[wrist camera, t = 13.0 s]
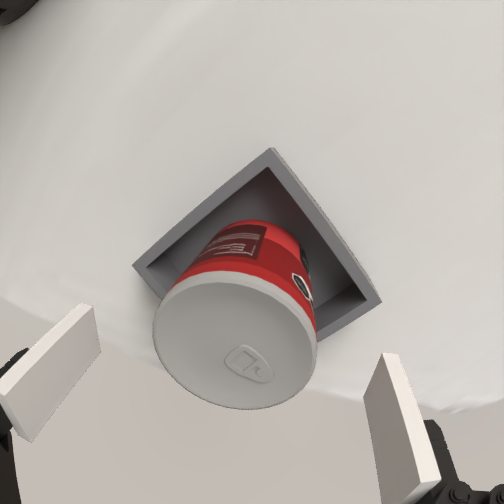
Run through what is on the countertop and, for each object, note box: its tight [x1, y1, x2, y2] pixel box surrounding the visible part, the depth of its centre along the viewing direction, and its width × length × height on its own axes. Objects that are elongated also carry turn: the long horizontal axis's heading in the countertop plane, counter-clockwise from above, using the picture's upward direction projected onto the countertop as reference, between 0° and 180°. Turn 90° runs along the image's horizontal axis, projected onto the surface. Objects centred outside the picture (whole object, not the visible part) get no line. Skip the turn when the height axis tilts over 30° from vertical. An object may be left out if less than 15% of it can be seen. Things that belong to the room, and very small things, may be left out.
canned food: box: [153, 219, 317, 410], centre depth 19 cm, size 8×8×11 cm
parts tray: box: [132, 148, 382, 343], centre depth 23 cm, size 13×13×4 cm
